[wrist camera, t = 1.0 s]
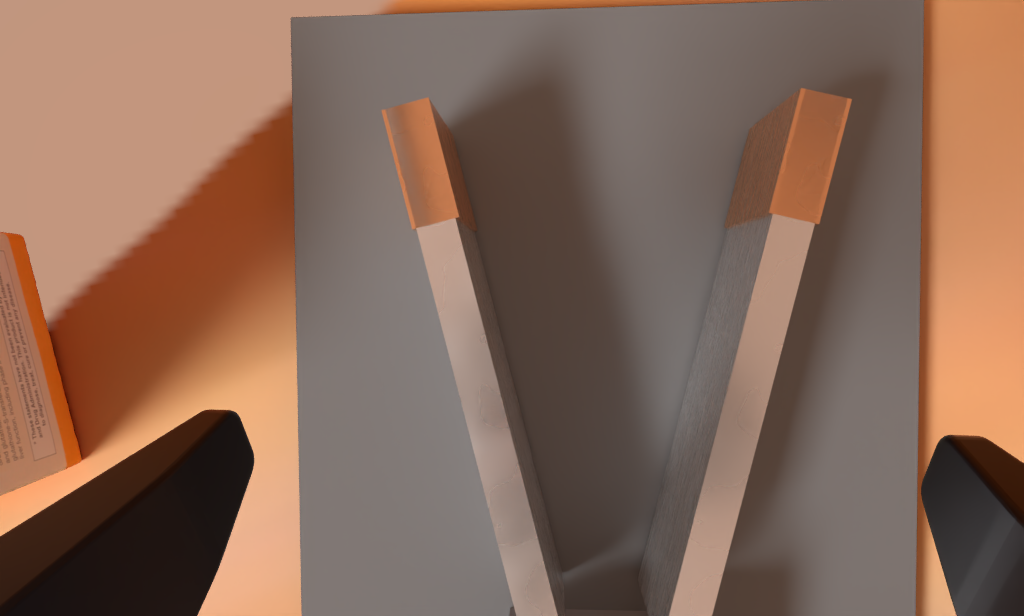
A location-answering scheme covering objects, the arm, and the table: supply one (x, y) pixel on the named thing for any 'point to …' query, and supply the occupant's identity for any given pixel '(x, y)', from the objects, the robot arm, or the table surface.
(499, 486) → the tong leg
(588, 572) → the tong mat
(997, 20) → the table surface
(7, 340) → the supplement box
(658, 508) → the tong leg
